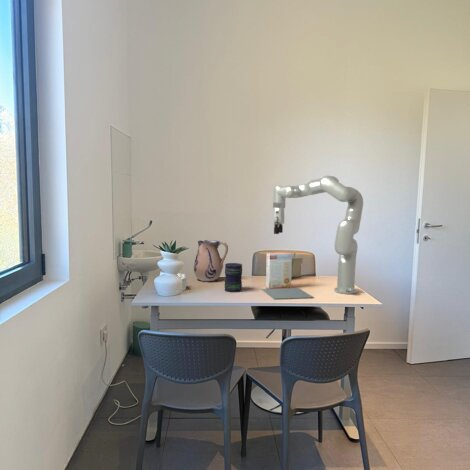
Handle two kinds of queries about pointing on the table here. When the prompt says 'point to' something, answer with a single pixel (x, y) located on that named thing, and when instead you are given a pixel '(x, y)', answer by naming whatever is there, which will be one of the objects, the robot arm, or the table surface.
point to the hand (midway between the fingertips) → (278, 233)
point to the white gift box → (182, 281)
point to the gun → (296, 267)
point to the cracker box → (278, 270)
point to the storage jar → (233, 277)
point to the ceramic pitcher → (209, 260)
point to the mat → (287, 293)
